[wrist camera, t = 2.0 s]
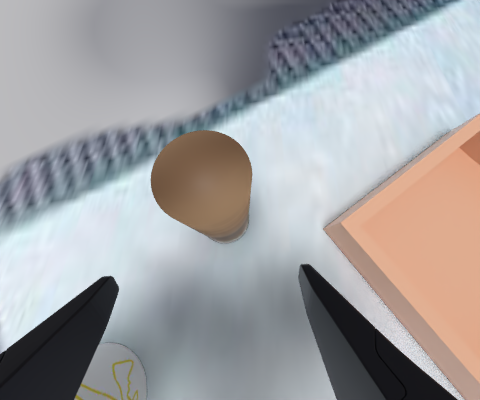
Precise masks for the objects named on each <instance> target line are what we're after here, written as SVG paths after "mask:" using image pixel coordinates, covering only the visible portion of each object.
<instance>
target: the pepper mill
mask: <svg viewBox="0 0 480 400" xmlns="http://www.w3.org/2000/svg"><path fill="white" fill-rule="evenodd" d="M251 182H252V168H251V163H250V160H249V157H248V155H247V154H246V152H245V150H244V149H243V148H242V146H241V145H240V144H239V143H238V142H236V141H235V140H234V139H232V138H231V137H229V136H227V135H225V134H222V133H219V132H215V131H207V130H203V131H194V132H190V133H187V134H184V135H181V136H180V137H178V138H176V139H174V140H173V141H171V142H170V143H169V144H168V145H167V146H166V147H165V148H164V149H163V150H162V151H161V152H160V154H159V155H158V157H157V159H156V161H155V163H154V165H153V169H152V173H151V188H152V192H153V195H154V198H155V200H156V202H157V203H158V205H159V206H160V208H161V209H162V210H163V211H164V212H165V213H166V214H168V215H169V216H170V217H172V218H174V219H176V220H177V221H179V222H181V223H183V224H185V225H187V226H189V227H191V228H193V229H195V230H197V231H198V232H200V233H202V234H204V235H206V236H208V237H209V238H210V239H212V240H213V241H216V242H218V243H231V242H234V241H236V240H238V239H239V238H241V237H242V236H243V235H244V233H245V232H246V230H247V227H248V224H249V204H250V193H251Z"/></svg>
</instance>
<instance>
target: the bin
mask: <svg viewBox="0 0 480 400" xmlns="http://www.w3.org/2000/svg"><path fill="white" fill-rule="evenodd" d="M323 229H324V231H325V232H326V233H327V234H328V235H329V237H330V238H331V239H332V240H333V241H334V243H335V244H336V245H337V246H338V247H339V249H340V250H341V251H342V252H343V253H344V255H345V256H346V257H347V258H348V259H349V261H350V262H351V263H352V264H353V265H354V267H355V268H356V269H357V270H358V272H359V273H360V274H361V275H362V276H363V278H364V279H365V280H366V281H367V282H368V284H369V285H370V286H371V287H372V288H373V290H374V291H375V292H376V293H377V294H378V296H379V297H380V298H381V299H382V300H383V302H384V303H385V304H386V305H387V306H388V308H389V309H390V310H391V311H392V312H393V314H394V315H395V316H396V317H397V318H398V320H399V321H400V322H401V323H402V324H403V326H404V327H405V328H406V329H407V330H408V332H409V333H410V334H411V335H412V336H413V338H414V339H415V340H416V341H417V342H418V344H419V345H420V346H421V347H422V348H423V350H424V351H425V352H426V353H427V354H428V356H429V357H430V358H431V359H432V360H433V362H434V363H435V364H436V365H437V366H438V368H439V369H440V370H441V371H442V372H443V374H444V375H445V376H446V377H447V378H448V380H449V381H450V382H451V383H452V384H453V386H454V387H455V388H456V389H457V390H458V392H459V393H460V394H461V395H462V396H463V398H464V399H465V400H480V114H478V115H476V116H475V117H473V118H471V119H470V120H468V121H466V122H465V123H463V124H462V125H460V126H458V127H457V128H455V129H453V130H452V131H450V132H448V133H447V134H445V135H444V136H443V137H441V138H440V139H439V140H438V141H436V142H435V143H434V144H432V145H431V146H430V147H429V148H427V149H426V150H425V151H423V152H422V153H421V154H419V155H418V156H417V157H416V158H414V159H413V160H412V161H410V162H409V163H408V164H406V165H405V166H404V167H403V168H401V169H400V170H399V171H397V172H396V173H395V174H393V175H392V176H391V177H390V178H388V179H387V180H386V181H384V182H383V183H382V184H381V185H379V186H378V187H377V188H375V189H374V190H373V191H371V192H370V193H369V194H368V195H366V196H365V197H364V198H362V199H361V200H360V201H358V202H357V203H356V204H355V205H353V206H352V207H351V208H349V209H348V210H347V211H345V212H344V213H343V214H342V215H340V216H339V217H338V218H336V219H335V220H334V221H333V222H331V223H330V224H329V225H327V226H326V227H325V228H323Z"/></svg>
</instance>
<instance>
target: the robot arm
mask: <svg viewBox="0 0 480 400" xmlns="http://www.w3.org/2000/svg"><path fill="white" fill-rule="evenodd" d="M299 283H300V287H301V292H302V296H303V300H304V304H305V309H306V312H307V316H308V319H309V322H310V325H311V327H312V330H313V333H314V336H315V339H316V342H317V345H318V348H319V350H320V353H321V356H322V359H323V362H324V365H325V368H326V370H327V373H328V376H329V379H330V382H331V385H332V388H333V390H334V393H335V396H336V399H337V400H457V399H456V398H455V397H454V396H453V395H451V394H450V393H449V392H448V391H447V390H446V389H444V388H443V387H442V386H441V385H440V384H438V383H437V382H436V381H435V380H434V379H432V378H431V377H430V376H429V375H428V374H426V373H425V372H424V371H423V370H422V369H420V368H419V367H418V366H417V365H416V364H415V363H413V362H412V361H411V360H410V359H409V358H408V357H407V356H405V355H404V354H403V353H402V352H401V351H400V350H399V349H398V348H396V347H395V346H394V345H393V344H392V343H391V342H390V341H389V340H388V339H387V338H386V337H385V336H384V335H383V334H381V333H380V332H379V331H378V330H377V329H375V327H374V326H373V325H372V324H371V323H370V322H369V321H368V320H367V319H366V318H365V317H364V316H363V315H362V314H361V313H360V312H359V311H357V310H356V309H355V308H354V307H353V306H352V305H351V304H350V303H349V302H348V301H347V300H346V299H345V298H344V297H343V296H342V295H341V294H340V293H339V292H338V291H337V290H336V289H335V288H334V287H333V286H331V285H330V284H329V283H328V282H327V281H326V280H325V279H324V278H323V277H322V276H321V275H320V274H319V273H318V272H317V271H316V270H315V269H314V268H313V267H312V266H311V265H309V264H301V265H300V268H299ZM118 292H119V287H118V285H117V283H116V281H115V279H114V278H113V277H112V276H104V277H102V278H100V279H99V280H97V281H96V282H95V283H93V284H92V285H91V286H90V287H88V288H87V289H86V290H84V291H83V292H82V293H80V294H79V295H78V296H76V297H75V298H74V299H72V300H71V301H70V302H68V303H67V304H66V305H64V306H63V307H62V308H61V309H59V310H58V311H57V312H55V313H54V314H53V315H51V316H50V317H49V318H47V319H46V320H45V321H43V322H42V323H41V324H39V325H38V326H37V327H35V328H34V329H33V330H32V331H30V332H29V333H28V334H26V335H25V336H24V337H22V338H21V339H20V340H18V341H17V342H16V343H14V344H13V345H12V346H10V347H9V348H8V349H7V350H6V351H4V352H2V353H1V354H0V400H74V399H75V397H76V395H77V392H78V390H79V388H80V386H81V383H82V381H83V379H84V377H85V374H86V372H87V370H88V367H89V365H90V363H91V361H92V358H93V356H94V354H95V352H96V349H97V347H98V345H99V343H100V340H101V338H102V336H103V334H104V331H105V329H106V327H107V324H108V321H109V319H110V316H111V313H112V310H113V307H114V304H115V301H116V298H117V295H118Z"/></svg>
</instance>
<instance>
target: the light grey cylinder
mask: <svg viewBox="0 0 480 400" xmlns="http://www.w3.org/2000/svg"><path fill="white" fill-rule="evenodd" d="M146 397H147V381H146V375H145V371H144V368H143V366H142V364H141V362H140V360H139V358H138V357H137V356H136V355H135V353H134V352H132V351H131V350H130V349H129V348H127V347H125V346H123V345H121V344H117V343H102V344H99V345H98V347H97V349H96V352H95V354H94V356H93V358H92V361H91V363H90V365H89V367H88V370H87V372H86V374H85V377H84V379H83V381H82V383H81V386H80V388H79V390H78V392H77V395H76V397H75V399H74V400H146Z"/></svg>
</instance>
